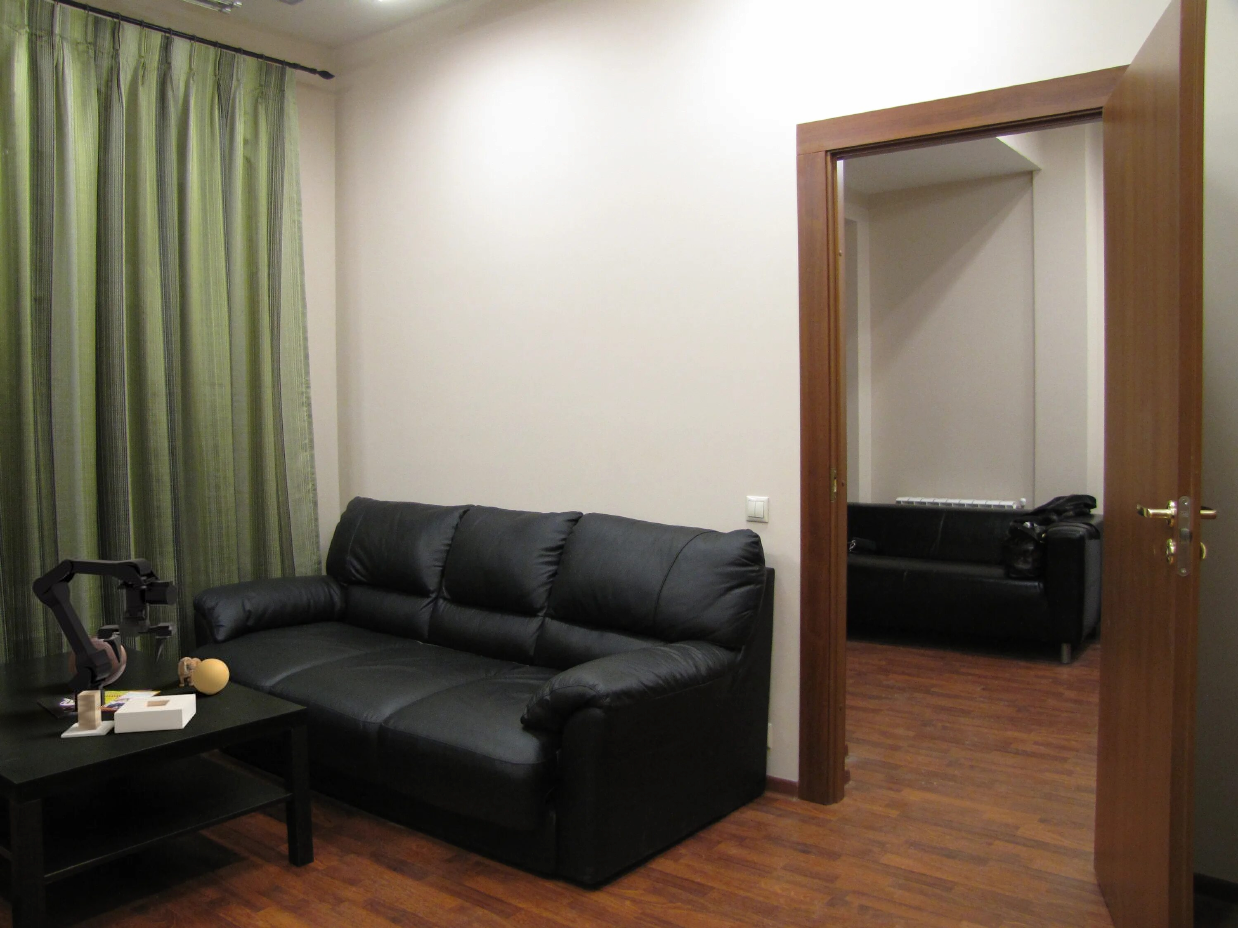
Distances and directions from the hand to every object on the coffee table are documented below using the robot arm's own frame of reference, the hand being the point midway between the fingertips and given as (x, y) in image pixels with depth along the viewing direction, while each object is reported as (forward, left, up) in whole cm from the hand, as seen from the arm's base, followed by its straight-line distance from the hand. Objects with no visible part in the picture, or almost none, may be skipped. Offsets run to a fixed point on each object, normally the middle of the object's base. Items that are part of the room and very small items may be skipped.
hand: (138, 661), depth 259 cm
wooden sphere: (-19, +28, -13) cm, 36 cm away
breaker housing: (+8, -14, -13) cm, 21 cm away
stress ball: (+16, +12, -13) cm, 24 cm away
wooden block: (-7, -17, -12) cm, 22 cm away
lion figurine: (+8, +26, -13) cm, 30 cm away
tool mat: (-7, -17, -13) cm, 23 cm away
